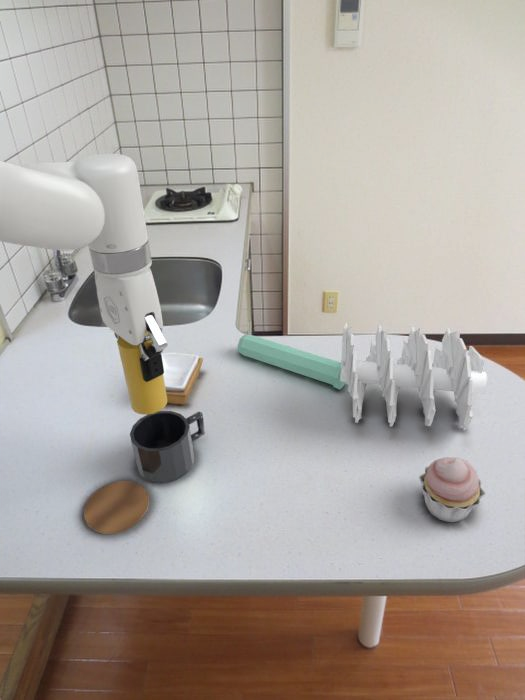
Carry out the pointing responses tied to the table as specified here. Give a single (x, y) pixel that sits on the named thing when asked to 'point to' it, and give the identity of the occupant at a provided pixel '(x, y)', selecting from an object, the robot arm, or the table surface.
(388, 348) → the spiral staircase
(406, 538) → the table surface
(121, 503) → the coaster
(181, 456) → the mug
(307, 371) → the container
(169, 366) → the soap dish
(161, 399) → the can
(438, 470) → the cupcake
